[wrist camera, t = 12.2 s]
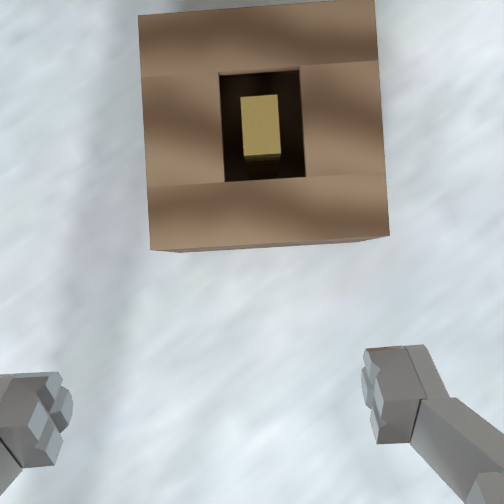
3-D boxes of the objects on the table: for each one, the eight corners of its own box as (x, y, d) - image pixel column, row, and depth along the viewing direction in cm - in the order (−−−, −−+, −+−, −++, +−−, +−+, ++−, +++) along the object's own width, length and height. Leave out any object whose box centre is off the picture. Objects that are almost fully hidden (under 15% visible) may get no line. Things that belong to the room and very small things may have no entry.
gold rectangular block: (277, 178, 38) (280, 153, 29) (248, 180, 38) (244, 155, 29) (274, 133, 38) (277, 94, 29) (246, 135, 38) (240, 97, 29)
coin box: (357, 242, 39) (389, 235, 29) (179, 252, 39) (150, 250, 29) (346, 65, 39) (374, -3, 29) (170, 77, 39) (137, 15, 29)
